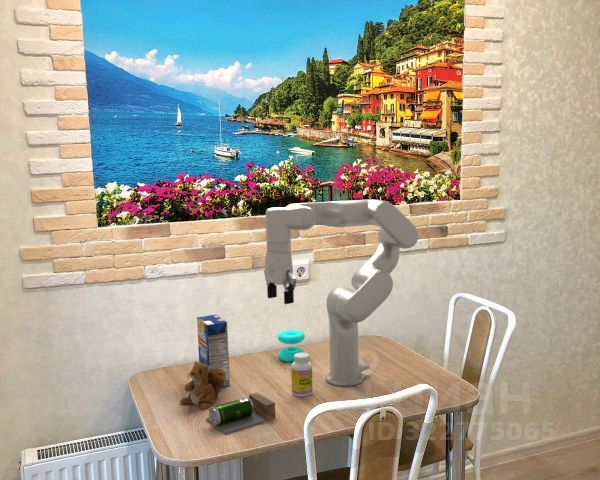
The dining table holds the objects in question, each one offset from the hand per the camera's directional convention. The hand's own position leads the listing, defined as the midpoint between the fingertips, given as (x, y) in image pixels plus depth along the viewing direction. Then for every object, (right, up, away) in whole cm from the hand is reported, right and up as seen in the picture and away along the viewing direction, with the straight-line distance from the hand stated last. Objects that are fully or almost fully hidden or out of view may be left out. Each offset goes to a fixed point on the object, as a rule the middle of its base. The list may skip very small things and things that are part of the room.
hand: (280, 300), depth 202 cm
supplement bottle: (+7, -30, +3) cm, 31 cm away
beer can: (-8, -30, -14) cm, 34 cm away
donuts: (+3, -25, +36) cm, 44 cm away
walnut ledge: (-5, -33, -11) cm, 35 cm away
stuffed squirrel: (-24, -32, -1) cm, 40 cm away
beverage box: (-23, -29, +14) cm, 40 cm away
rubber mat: (-13, -34, -16) cm, 39 cm away
